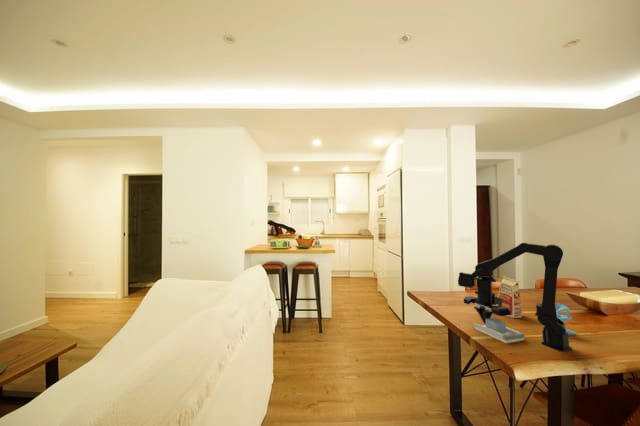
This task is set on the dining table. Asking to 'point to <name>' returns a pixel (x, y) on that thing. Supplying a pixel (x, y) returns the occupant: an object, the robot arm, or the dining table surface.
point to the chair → (564, 318)
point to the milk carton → (511, 297)
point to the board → (501, 334)
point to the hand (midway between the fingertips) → (486, 324)
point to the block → (496, 325)
